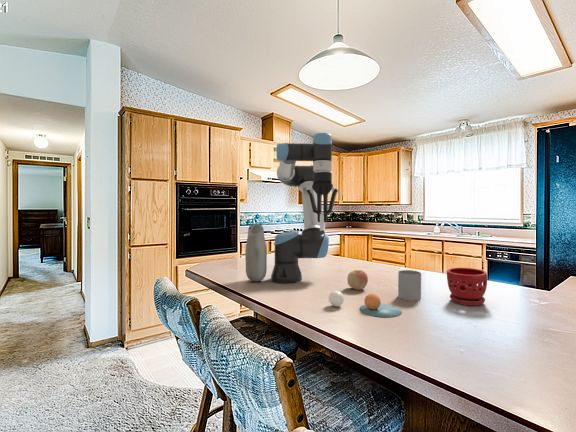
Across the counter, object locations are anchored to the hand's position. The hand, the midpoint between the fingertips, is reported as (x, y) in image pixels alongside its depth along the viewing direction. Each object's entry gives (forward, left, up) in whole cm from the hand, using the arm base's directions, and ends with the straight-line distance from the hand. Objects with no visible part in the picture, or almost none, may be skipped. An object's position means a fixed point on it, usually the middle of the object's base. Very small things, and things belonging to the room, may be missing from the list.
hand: (322, 230), depth 129 cm
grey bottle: (-35, -14, -27) cm, 46 cm away
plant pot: (+36, +40, -27) cm, 60 cm away
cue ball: (+15, -5, -24) cm, 28 cm away
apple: (+1, +18, -27) cm, 32 cm away
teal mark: (+26, +5, -26) cm, 38 cm away
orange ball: (+24, +4, -24) cm, 34 cm away
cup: (+21, +27, -27) cm, 43 cm away
